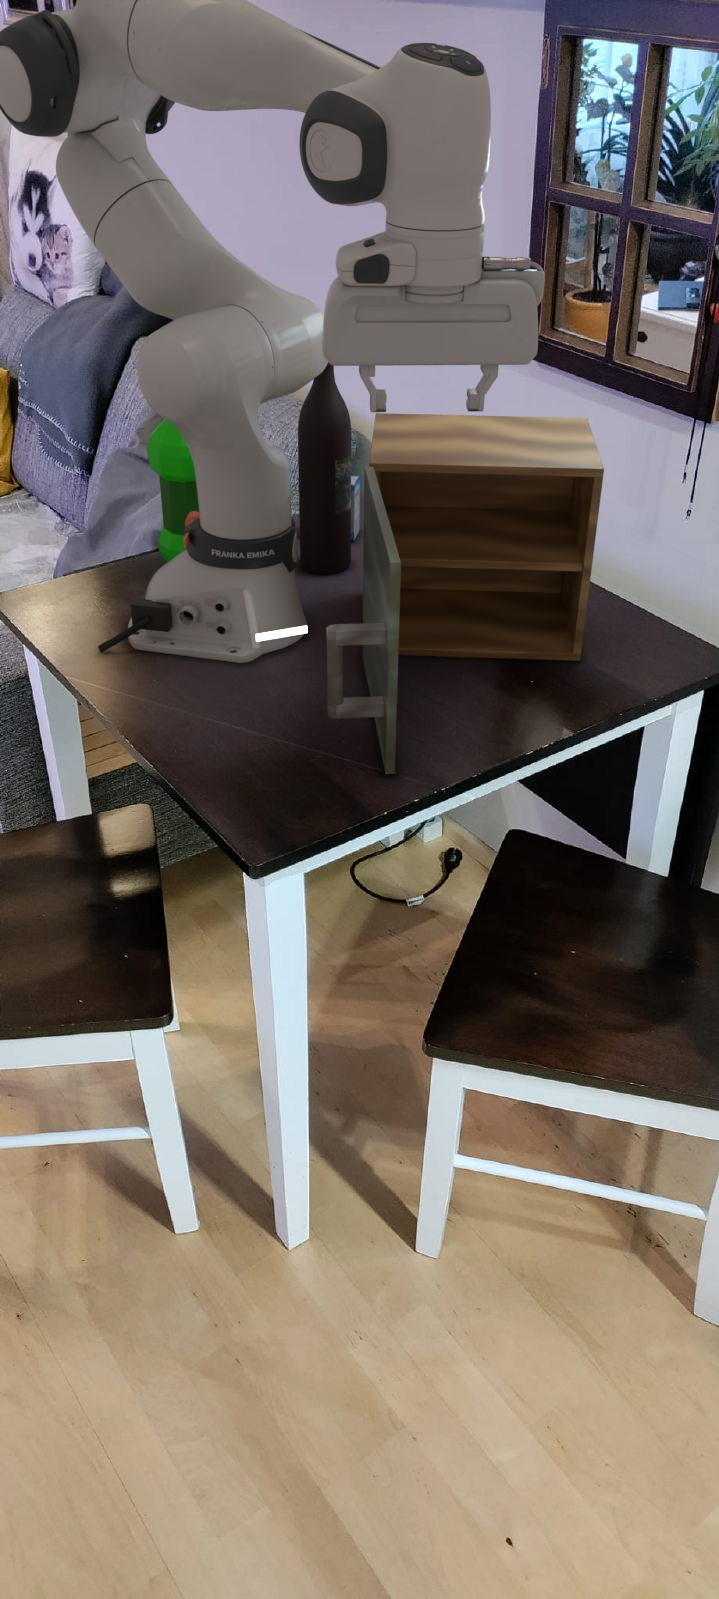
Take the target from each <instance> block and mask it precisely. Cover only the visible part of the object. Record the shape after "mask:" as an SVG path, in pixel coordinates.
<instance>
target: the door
mask: <svg viewBox="0 0 719 1599" xmlns="http://www.w3.org/2000/svg"><path fill="white" fill-rule="evenodd" d="M363 470H364V472H363V474H364V475H363V482H364V483H363V556H362V558H363V559H362V560H363V563H362V565H363V568H362V569H363V570H362V576H363V577H362V623H338V624H335V623H334V624H329V625H328V626H326V680H327V682H326V685H327V686H326V688H327V690H326V691H327V695H326V696H327V698H326V699H327V702H326V703H327V717H328V718H329V719H333V720H336V719H337V720H338V719H339V720H340V719H359V718H360V719H361V718H364V719H365V718H374V723H375V728H376V734H377V738H378V739H377V740H378V744H379V748H380V749H379V750H380V754H381V758H382V765H383V769H384V774H385V775H396V750H397V747H396V746H397V715H398V714H397V712H398V680H399V655H398V648H399V614H400V579H401V561H400V558H399V554H398V551H397V547H396V544H395V540H394V537H393V534H392V530H391V527H390V523H389V520H388V516H387V513H386V509H385V506H384V502H383V499H382V495H381V492H380V488H379V485H378V481H377V478H376V475H375V471H374V468H373V467H369V466H364V468H363ZM344 646H362V661H363V666H364V671H365V676H366V677H365V678H366V682H367V686H368V691H369V696H354V697H353V696H351V697H349V696H348V697H344Z"/></svg>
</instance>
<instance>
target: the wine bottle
mask: <svg viewBox="0 0 719 1599" xmlns="http://www.w3.org/2000/svg"><path fill="white" fill-rule="evenodd" d="M297 463H298V466H297V467H298V468H297V469H298V471H297V472H298V513H299V514H298V515H299V554H300V555H299V561H300V565H301V568H302V569H303V570H304V571H307V572H308V573H312V574H317V575H335V574H340V573H343V572H345V571H346V570H348V569H349V568H350V565H351V563H352V562H351V561H352V541H351V476H352V420H351V417H350V411H349V409H348V406H347V404H346V402H345V400H344V398H343V396H342V394H341V392H340V389H339V388H338V385H337V383H336V376H335V366H332V365H330V363H329V362H328V364H327V366H326V367H325V369H324V370H323V372H322V373H321V374H320V375H318V376H317V377H316V378H314V379H313V380H312V384H311V387H310V389H309V391H308V393H307V395H306V397H305V399H304V401H303V402H302V406H301V408H300V411H299V416H298V422H297Z"/></svg>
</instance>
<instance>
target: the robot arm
mask: <svg viewBox="0 0 719 1599" xmlns="http://www.w3.org/2000/svg"><path fill="white" fill-rule="evenodd" d="M175 104H179V105H182V106H186V107H189V108H192V109H196V110H200V111H204V112H205V111H206V112H229V111H247V110H287V111H294V112H300V113H303V114H304V116H303V119H302V122H301V127H300V130H299V144H298V145H299V156H300V157H299V158H300V161H301V166H302V169H303V173H304V175H305V177H306V179H307V181H308V183H309V185H310V186H311V188H312V189H313V190H314V192H315V193H316V194H317V195H318V196H319V197H320V198H321V199H322V200H324V201H325V202H327V203H329V204H332V205H338V206H345V207H359V206H366V205H369V204H371V205H372V204H377V203H380V204H381V205H382V206H384V208H385V228H384V230H385V231H381V232H379V233H376V234H374V235H371V236H367V237H365V238H362V239H358V240H356V241H353V242H350V243H347V244H345V245H342V246H340V247H339V248H338V250H337V252H336V255H335V270H336V273H337V277H336V278H334V279H333V281H332V282H331V284H330V285H329V287H328V291H327V295H326V299H325V303H324V311H323V312H322V310H321V309H320V308H319V306H318V305H316V304H315V303H314V302H313V301H312V300H311V299H309V298H307V297H305V296H302V295H299V294H297V293H293V292H290V291H289V290H288V291H287V290H285V289H283V288H281V287H280V286H279V287H278V286H277V285H275V284H273V283H272V282H270V281H269V280H268V279H265V278H264V277H263V276H261V275H260V274H259V273H257V272H256V271H254V269H252V268H250V267H249V266H247V265H246V264H245V262H242V261H241V260H240V259H238V258H237V257H236V256H235V255H234V254H232V253H231V252H230V251H229V250H228V249H227V248H225V247H224V246H223V245H222V244H221V243H220V242H219V241H218V240H217V239H216V238H215V237H214V235H212V234H211V232H210V231H209V230H208V229H207V227H206V226H205V225H204V223H203V222H202V221H201V220H200V218H199V217H198V216H197V214H196V213H195V212H194V211H193V209H192V208H191V207H190V206H189V204H188V203H187V201H186V200H185V199H184V197H183V196H182V195H181V193H180V191H179V190H178V189H177V188H176V187H175V185H174V184H173V182H172V180H170V179H169V177H168V176H167V174H166V173H165V172H164V171H163V170H162V169H161V168H160V166H159V165H158V163H157V162H156V161H155V159H154V157H153V156H152V154H151V152H150V150H149V147H148V144H147V136H146V135H155V134H157V133H160V132H161V131H162V130H163V129H164V128H165V127H166V125H167V123H168V119H169V118H168V116H169V112H170V111H171V109H173V106H174V105H175ZM491 104H492V102H491V88H490V83H489V77H488V74H487V69H486V67H485V65H484V64H483V62H482V61H481V60H480V59H478V58H477V56H476V55H474V54H472V53H471V52H468V51H467V50H464V49H462V48H459V47H455V46H453V45H447V44H445V45H444V44H438V43H434V42H413V43H410V44H406V45H403V46H402V47H401V48H399V49H398V50H397V51H396V52H395V53H394V54H393V57H392V58H391V59H390V60H389V61H388V62H387V63H385V64H384V65H383V66H382V67H381V66H379V65H377V64H374V63H372V62H370V61H369V60H366V59H364V58H362V57H360V56H358V55H356V54H354V53H351V52H350V51H348V50H346V49H343V48H342V47H339V46H337V45H334V44H333V43H331V42H328V41H326V40H324V39H321V38H320V37H317V36H315V35H314V34H313V35H312V34H311V33H308V32H306V31H303V30H302V29H299V28H297V27H295V26H294V25H293V24H290V23H288V22H287V21H286V20H284V19H281V18H280V17H278V16H276V15H274V14H273V13H271V12H269V11H266V10H264V9H262V8H261V7H259V6H258V5H255V4H253V3H252V2H251V1H248V0H76V2H75V5H74V7H71V8H70V9H63V10H56V11H52V12H51V11H50V10H48V9H43V10H41V11H39V12H36V13H34V14H31V15H28V16H25V17H23V18H20V19H18V20H16V21H14V22H13V23H11V24H9V25H7V26H5V28H3V29H1V30H0V111H1V113H2V114H3V115H4V117H5V118H6V120H7V121H8V122H9V123H10V124H11V126H12V127H14V128H15V129H16V130H17V131H18V132H20V133H22V134H24V135H28V136H32V137H40V138H41V137H44V138H54V137H59V136H61V135H62V134H67V136H66V138H65V139H64V140H63V142H62V144H60V147H59V149H58V151H57V155H56V160H55V173H56V178H57V181H58V184H59V186H60V188H61V190H62V193H63V195H64V197H65V199H66V200H67V203H68V205H69V207H70V208H71V211H72V212H73V214H74V216H75V218H76V219H77V221H78V223H79V224H80V226H81V228H82V229H83V231H84V232H85V234H86V236H87V237H88V239H89V240H90V241H91V243H92V244H93V245H94V247H95V249H96V250H97V252H98V253H99V254H100V255H101V256H102V258H103V259H104V261H105V262H106V264H107V265H108V266H109V267H110V269H111V271H112V272H113V273H114V275H115V276H116V277H117V279H118V280H119V282H120V283H121V284H122V285H123V286H124V288H125V289H126V291H127V293H128V294H129V295H130V296H131V298H132V299H133V300H134V301H135V302H136V303H137V304H138V305H139V306H141V307H142V308H143V309H145V310H146V311H149V312H151V313H153V314H156V315H157V316H158V315H159V316H162V317H166V318H168V319H171V320H172V321H170V322H169V323H167V324H165V325H163V326H161V327H160V328H159V329H157V330H155V331H153V332H152V333H151V334H149V335H147V337H145V338H144V340H143V341H142V343H141V345H140V347H139V350H138V354H137V360H136V375H137V380H138V381H137V382H138V385H139V389H140V391H141V393H142V396H143V397H144V399H145V401H146V402H147V404H148V405H149V407H150V408H151V409H152V410H153V412H155V413H156V415H158V416H159V417H160V418H162V419H163V420H164V419H165V420H166V421H168V422H170V423H171V424H172V425H174V426H175V427H176V429H177V430H178V431H179V432H180V434H181V435H182V437H183V439H184V440H185V442H186V444H187V446H188V449H189V451H190V454H191V457H192V461H193V464H194V470H195V477H196V485H197V494H198V505H199V512H197V511H192V512H190V513H189V515H188V516H187V519H186V521H185V526H186V528H185V530H184V547H185V550H184V551H183V552H181V553H180V554H179V555H177V556H176V557H175V558H173V559H172V560H170V561H169V562H166V563H165V564H163V565H162V566H161V567H159V568H158V569H157V571H155V573H154V575H152V577H151V579H150V581H149V583H148V585H147V588H146V591H145V595H144V596H145V597H144V598H135V599H133V601H132V602H131V603H130V604H129V606H130V618H129V621H128V625H127V628H126V629H125V630H123V631H122V632H119V633H118V634H116V635H115V636H113V637H111V638H110V639H108V640H105V641H104V642H102V643H101V644H99V645H98V646H97V648H98V651H99V652H101V653H104V652H105V651H107V650H109V649H111V648H113V647H115V646H116V645H118V644H119V643H121V642H123V641H124V640H128V643H129V644H130V646H131V647H132V648H133V649H134V650H137V651H138V650H139V651H144V652H152V653H159V654H167V655H175V656H185V657H192V658H200V659H206V660H214V661H221V662H222V661H223V662H231V663H238V664H244V663H245V664H246V663H249V662H252V661H254V660H256V659H258V658H259V657H261V656H262V655H265V654H267V653H271V652H275V651H278V650H282V649H284V648H287V647H289V646H292V645H293V644H295V643H296V642H298V641H300V640H301V639H302V638H303V637H304V636H305V634H308V632H309V631H308V622H307V619H306V617H305V614H304V611H303V610H304V609H303V606H302V603H301V599H300V595H299V589H298V582H297V576H296V565H297V562H298V535H297V533H298V532H297V531H296V520H295V519H294V518H293V516H292V480H291V479H292V478H291V463H290V460H289V457H288V456H287V454H286V452H285V451H284V450H283V449H282V448H281V447H280V446H279V445H277V444H276V443H275V442H273V441H271V440H270V439H269V438H266V437H264V435H263V433H262V429H261V425H260V421H259V409H260V408H259V407H260V405H262V404H264V403H268V402H270V401H273V400H276V399H279V398H282V397H285V396H288V395H291V394H293V393H296V392H297V391H299V390H301V389H302V388H303V387H305V386H306V385H308V384H309V383H311V382H313V379H314V378H316V377H317V376H318V375H320V374H321V373H322V372H323V370H324V369H325V367H326V366H327V364H328V362H329V363H330V365H332V366H334V367H353V366H354V367H358V373H359V377H360V379H361V381H362V382H363V384H364V387H365V388H366V390H367V392H368V394H369V411H370V413H387V404H386V403H387V392H386V388H385V389H383V388H382V389H380V388H377V386H376V384H375V383H374V381H373V380H372V378H374V377H375V376H376V366H377V367H379V366H480V367H479V368H480V371H481V373H482V377H480V379H479V381H478V383H477V384H476V386H475V388H467V389H466V397H467V399H466V400H465V401H466V402H465V404H466V405H465V406H466V410H467V412H484V409H485V395H487V394H488V392H489V390H490V389H491V388H492V386H493V384H494V383H495V382H496V380H497V378H498V377H499V367H500V366H520V365H521V366H522V365H523V366H525V365H526V366H527V365H529V364H530V363H531V362H532V361H533V360H534V358H535V357H536V356H537V354H538V349H539V315H538V314H539V313H538V307H539V305H540V304H541V302H542V300H543V298H544V294H545V284H546V276H545V275H546V274H545V272H544V270H543V268H542V267H541V265H540V264H538V263H536V262H534V261H532V259H531V258H530V257H527V256H516V257H503V256H483V255H484V241H485V225H486V214H485V209H484V204H483V190H484V185H485V180H486V179H487V175H488V172H489V166H490V152H491V131H492V129H491V128H492V105H491ZM158 124H159V125H158ZM531 268H534V269H531Z"/></svg>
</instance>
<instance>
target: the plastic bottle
mask: <svg viewBox="0 0 719 1599" xmlns="http://www.w3.org/2000/svg"><path fill="white" fill-rule="evenodd" d="M146 454H147V455H146V456H147V460H148V464H149V467H150V469H151V470H153V472H155V473H156V474H157V475H158V477H159V478H158V479H159V489H160V490H159V491H160V500H161V511H162V524H163V525H162V528H161V531H160V535H159V538H158V541H157V544H158V551H159V552H158V553H159V554H160V555H161V557H162V559H163V560H164V561H165V562H166V563H168V562H169V561H170V560H172V559H173V558H175V557H176V556H177V555H179V554H180V553H181V552H183V551H184V550H185V547H184V530H185V528H186V526H185V521H186V519H187V516H188V515H189V513H190V512H192V511H197V512H199V505H198V494H197V485H196V477H195V470H194V464H193V461H192V457H191V454H190V451H189V449H188V446H187V444H186V442H185V440H184V439H183V437H182V435H181V434H180V432H179V431H178V430H177V429H176V427H175V426H174V425H172V424H171V423H170V422H168V421H166V420H165V419H163V420H162V421H161V422H160V423H159V424H158V425H157V426H156V427H155V428H154V429H152V431H151V434H150V437H149V439H148V442H147V446H146Z"/></svg>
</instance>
